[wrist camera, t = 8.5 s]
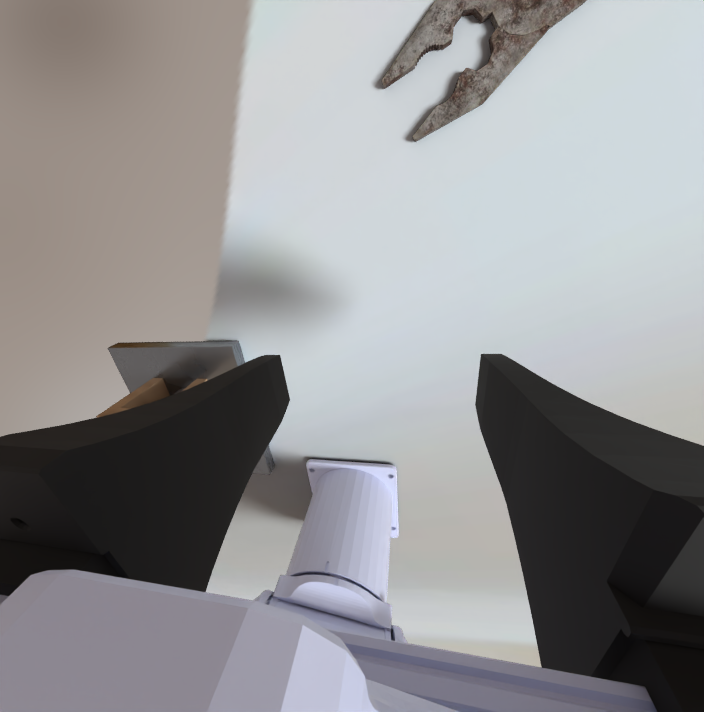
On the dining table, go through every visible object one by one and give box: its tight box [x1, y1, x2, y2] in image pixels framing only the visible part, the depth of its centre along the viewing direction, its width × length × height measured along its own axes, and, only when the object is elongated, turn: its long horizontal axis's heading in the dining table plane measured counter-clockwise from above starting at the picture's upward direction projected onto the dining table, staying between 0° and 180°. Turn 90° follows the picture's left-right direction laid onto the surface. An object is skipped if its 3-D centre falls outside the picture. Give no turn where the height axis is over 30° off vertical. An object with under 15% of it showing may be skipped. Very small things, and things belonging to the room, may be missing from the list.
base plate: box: [108, 341, 274, 475], centre depth 25 cm, size 13×11×4 cm
